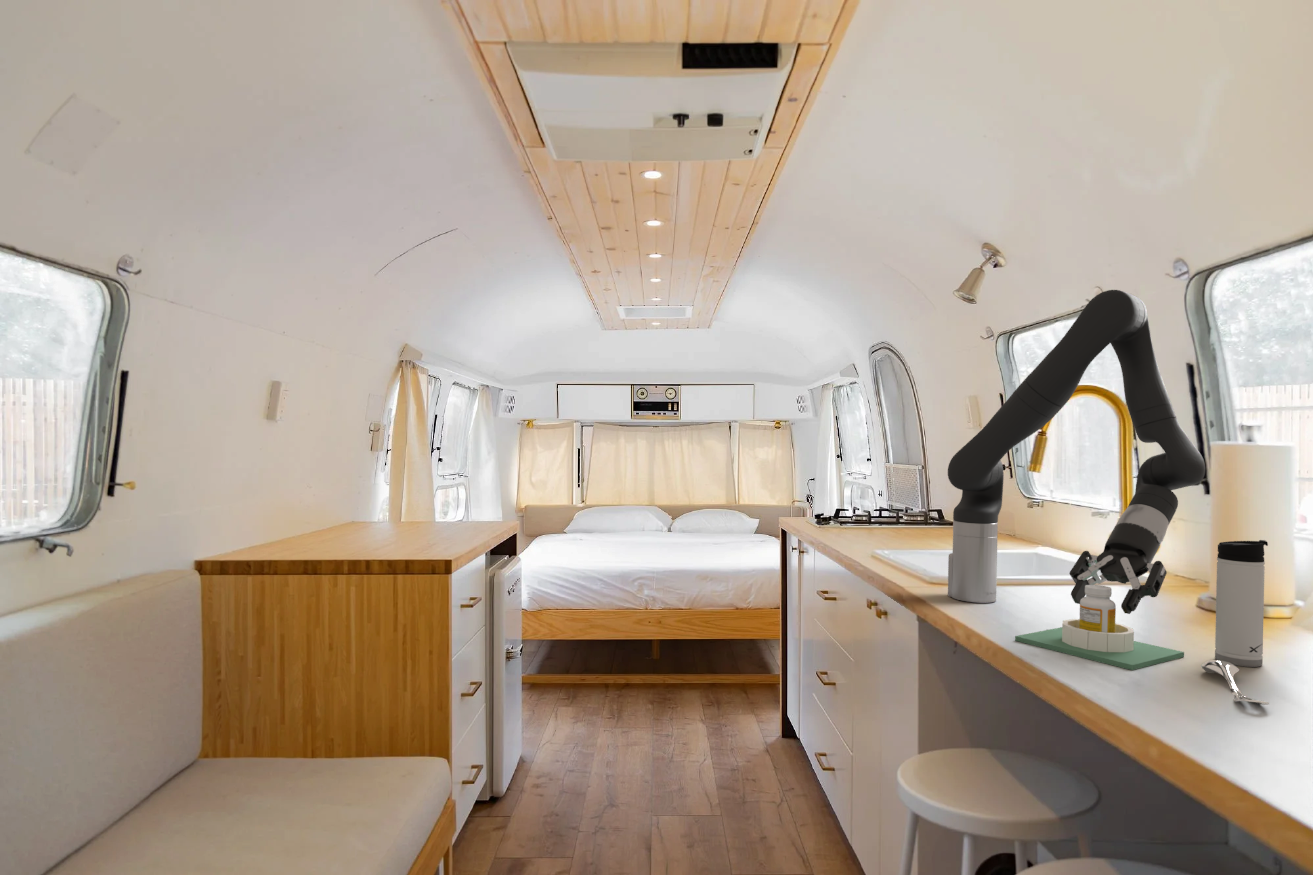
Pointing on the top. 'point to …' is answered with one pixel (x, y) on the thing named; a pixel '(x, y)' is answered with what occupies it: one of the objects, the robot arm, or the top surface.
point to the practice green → (1101, 645)
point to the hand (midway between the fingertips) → (1099, 605)
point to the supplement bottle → (1097, 609)
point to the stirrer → (1228, 678)
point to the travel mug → (1240, 602)
